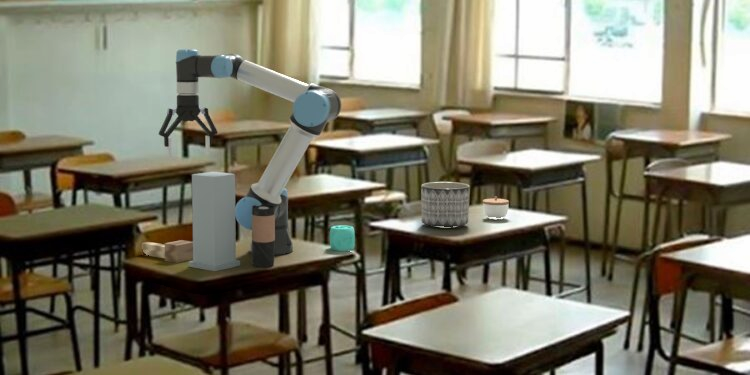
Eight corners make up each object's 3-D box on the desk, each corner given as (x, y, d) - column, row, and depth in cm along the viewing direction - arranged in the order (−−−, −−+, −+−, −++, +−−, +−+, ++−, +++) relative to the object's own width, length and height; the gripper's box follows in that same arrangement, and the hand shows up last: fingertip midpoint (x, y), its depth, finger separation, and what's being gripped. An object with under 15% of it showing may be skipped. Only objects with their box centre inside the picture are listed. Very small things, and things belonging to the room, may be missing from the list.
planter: (411, 226, 487) (411, 185, 485) (437, 220, 503) (438, 180, 500) (452, 232, 476) (453, 190, 474) (478, 225, 492) (478, 184, 489)
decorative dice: (329, 247, 445) (329, 225, 444) (351, 246, 447) (351, 225, 445) (332, 251, 438) (332, 229, 436) (354, 251, 439) (354, 228, 438)
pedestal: (189, 266, 410) (187, 174, 406) (214, 260, 420) (213, 170, 415) (214, 271, 403) (213, 177, 399) (240, 265, 413) (239, 174, 408)
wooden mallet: (136, 255, 428) (136, 238, 428) (153, 251, 435) (153, 235, 434) (177, 262, 417) (177, 245, 416) (194, 259, 423) (194, 242, 422)
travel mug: (271, 268, 409) (271, 209, 405) (248, 266, 410) (248, 208, 406) (277, 262, 416) (277, 204, 412) (255, 260, 418) (255, 203, 413)
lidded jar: (498, 216, 514) (499, 193, 513) (513, 219, 505) (514, 197, 504) (477, 218, 509) (477, 195, 508) (492, 222, 500) (492, 199, 499)
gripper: (219, 92, 432) (220, 152, 435) (149, 94, 422) (150, 155, 426) (225, 94, 425) (226, 155, 428) (154, 95, 416) (155, 158, 419)
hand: (188, 155), depth 427 cm, fingers open, 13 cm apart
